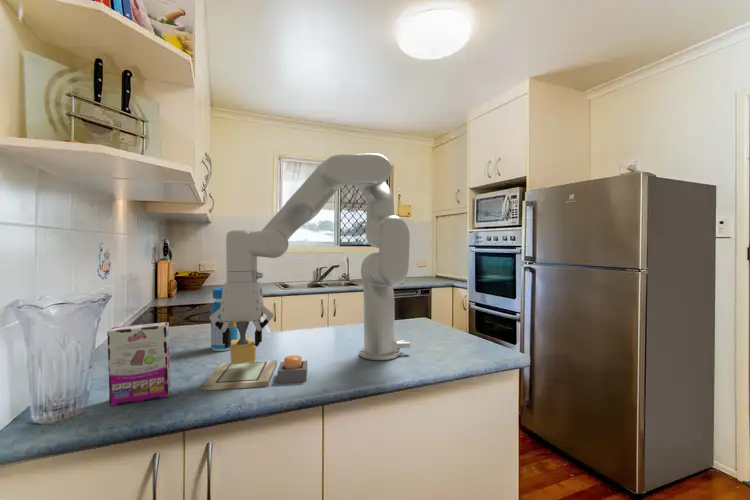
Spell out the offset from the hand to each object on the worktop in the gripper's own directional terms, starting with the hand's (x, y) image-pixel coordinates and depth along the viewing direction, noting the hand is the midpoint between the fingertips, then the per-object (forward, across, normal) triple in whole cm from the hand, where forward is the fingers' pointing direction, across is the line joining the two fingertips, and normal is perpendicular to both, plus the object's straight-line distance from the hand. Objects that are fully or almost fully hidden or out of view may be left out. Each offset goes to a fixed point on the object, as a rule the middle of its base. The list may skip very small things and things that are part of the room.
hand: (242, 345), depth 93 cm
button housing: (+8, -13, +3) cm, 16 cm away
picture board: (+8, 0, 0) cm, 8 cm away
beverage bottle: (+8, +12, -28) cm, 32 cm away
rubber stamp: (+3, 0, 0) cm, 3 cm away
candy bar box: (+9, +20, +10) cm, 24 cm away
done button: (+7, -13, +3) cm, 15 cm away
